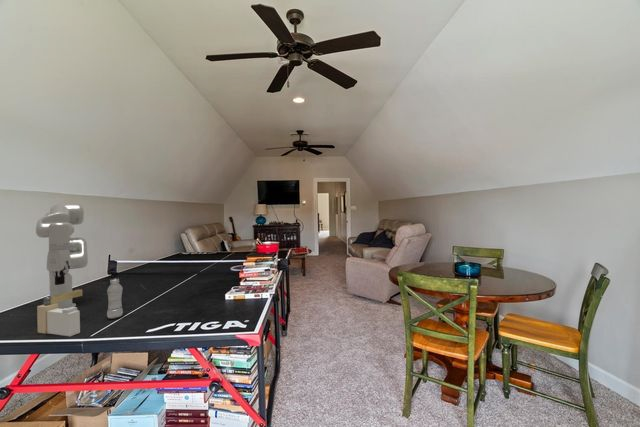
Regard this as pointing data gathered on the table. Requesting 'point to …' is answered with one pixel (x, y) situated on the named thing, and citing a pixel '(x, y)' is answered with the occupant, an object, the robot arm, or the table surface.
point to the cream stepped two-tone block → (58, 320)
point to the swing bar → (62, 297)
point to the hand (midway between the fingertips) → (59, 284)
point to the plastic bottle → (114, 299)
